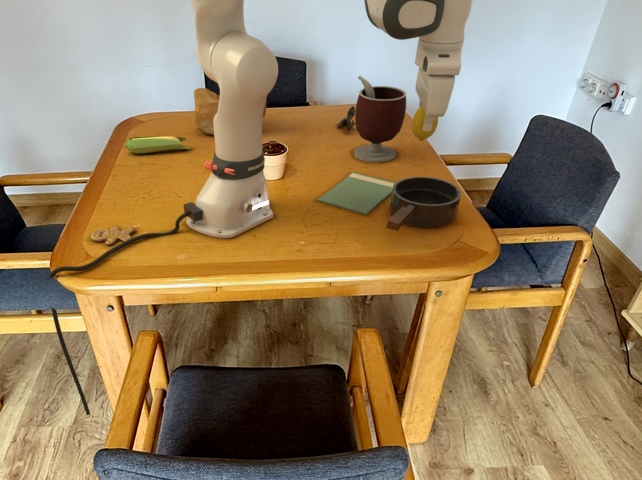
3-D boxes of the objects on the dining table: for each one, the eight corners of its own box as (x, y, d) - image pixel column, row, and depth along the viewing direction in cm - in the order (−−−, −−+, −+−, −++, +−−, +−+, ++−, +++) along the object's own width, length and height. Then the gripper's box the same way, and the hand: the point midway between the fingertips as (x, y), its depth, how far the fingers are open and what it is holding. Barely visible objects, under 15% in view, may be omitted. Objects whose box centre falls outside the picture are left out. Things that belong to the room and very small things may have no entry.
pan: (441, 235, 122) (446, 211, 118) (378, 218, 129) (381, 194, 125) (464, 209, 131) (470, 186, 127) (404, 194, 138) (408, 171, 134)
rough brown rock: (267, 122, 183) (266, 74, 174) (267, 135, 170) (265, 83, 161) (201, 125, 185) (196, 77, 175) (195, 138, 171) (189, 87, 162)
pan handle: (397, 231, 115) (398, 223, 114) (386, 227, 117) (387, 220, 115) (418, 210, 122) (419, 202, 121) (407, 207, 123) (409, 200, 122)
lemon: (431, 137, 122) (439, 100, 117) (435, 145, 118) (443, 108, 113) (407, 136, 123) (414, 99, 117) (410, 145, 119) (417, 107, 113)
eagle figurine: (365, 129, 171) (359, 115, 176) (356, 112, 165) (350, 97, 171) (344, 142, 173) (338, 128, 179) (334, 126, 168) (329, 111, 174)
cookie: (131, 241, 121) (87, 242, 121) (132, 245, 122) (88, 246, 122) (136, 223, 128) (94, 225, 127) (136, 227, 128) (95, 228, 128)
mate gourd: (407, 153, 158) (420, 80, 145) (380, 167, 151) (390, 92, 138) (365, 140, 166) (373, 70, 153) (337, 153, 159) (343, 81, 146)
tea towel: (366, 215, 130) (366, 213, 130) (317, 201, 136) (317, 199, 136) (400, 185, 142) (400, 183, 142) (353, 173, 148) (353, 172, 148)
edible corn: (127, 150, 165) (124, 135, 162) (191, 146, 166) (190, 131, 163) (126, 157, 161) (123, 142, 158) (192, 152, 163) (190, 137, 160)
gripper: (415, 43, 117) (404, 109, 126) (429, 67, 102) (415, 140, 111) (445, 44, 116) (431, 110, 126) (463, 68, 101) (446, 141, 111)
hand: (424, 125), depth 118 cm, fingers closed on lemon, 5 cm apart
